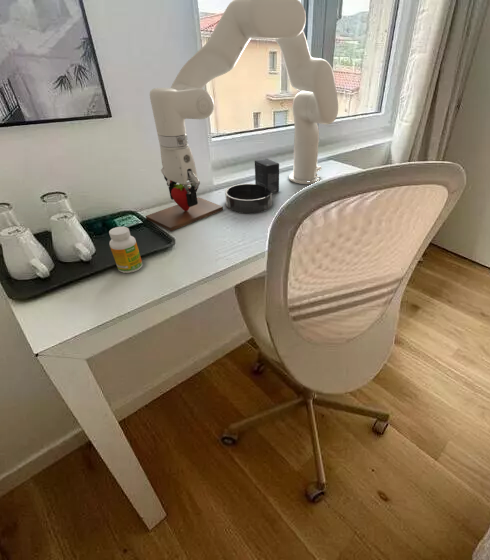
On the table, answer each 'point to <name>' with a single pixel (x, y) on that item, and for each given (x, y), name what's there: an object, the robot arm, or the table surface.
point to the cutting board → (183, 214)
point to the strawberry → (180, 196)
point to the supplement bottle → (125, 250)
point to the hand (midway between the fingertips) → (184, 201)
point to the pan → (248, 198)
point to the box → (267, 174)
